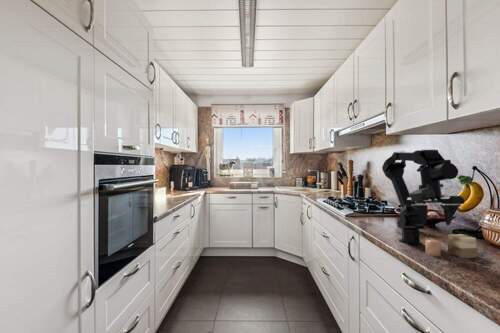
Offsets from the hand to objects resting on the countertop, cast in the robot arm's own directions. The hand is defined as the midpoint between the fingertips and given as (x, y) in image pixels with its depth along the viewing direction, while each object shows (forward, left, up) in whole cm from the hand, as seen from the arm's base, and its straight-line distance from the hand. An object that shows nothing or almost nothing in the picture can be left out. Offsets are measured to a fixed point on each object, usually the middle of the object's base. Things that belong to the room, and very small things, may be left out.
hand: (435, 224), depth 93 cm
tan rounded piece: (-1, 0, -12) cm, 12 cm away
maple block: (+1, +10, -8) cm, 13 cm away
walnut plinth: (+1, +10, -12) cm, 16 cm away
